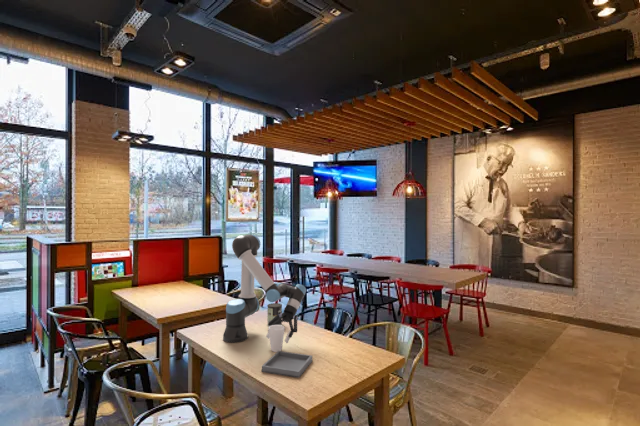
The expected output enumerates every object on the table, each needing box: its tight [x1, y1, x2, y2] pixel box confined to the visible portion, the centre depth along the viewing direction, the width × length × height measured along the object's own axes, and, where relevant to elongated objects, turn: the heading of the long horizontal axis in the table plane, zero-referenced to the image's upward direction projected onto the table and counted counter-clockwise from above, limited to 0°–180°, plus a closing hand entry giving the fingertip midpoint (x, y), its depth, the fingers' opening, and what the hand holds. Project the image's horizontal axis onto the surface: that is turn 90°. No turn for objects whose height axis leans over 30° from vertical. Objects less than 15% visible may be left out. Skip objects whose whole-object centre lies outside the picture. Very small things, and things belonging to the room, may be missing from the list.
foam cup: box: [267, 325, 286, 353], centre depth 203 cm, size 10×9×13 cm
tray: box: [261, 350, 313, 379], centre depth 181 cm, size 20×20×3 cm
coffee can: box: [266, 302, 283, 327], centre depth 247 cm, size 10×10×14 cm
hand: (276, 339), depth 202 cm, fingers open, 13 cm apart
